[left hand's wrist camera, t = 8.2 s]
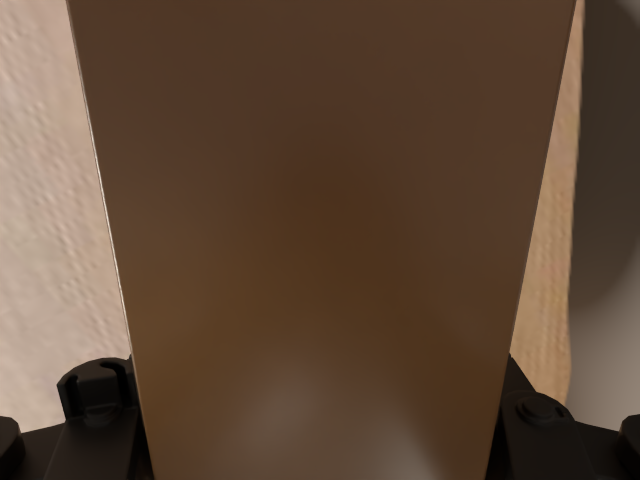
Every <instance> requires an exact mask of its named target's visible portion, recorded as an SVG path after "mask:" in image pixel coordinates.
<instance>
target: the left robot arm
mask: <svg viewBox="0 0 640 480" xmlns="http://www.w3.org/2000/svg"><path fill="white" fill-rule="evenodd" d="M57 388H58V392H59V396H60V400H61V403H62V407H63V411H64V414H65V418H66V421H65V423H62V424H58V425H55V426H51V427H47V428H42V429H38V430H34V431H29V432H25V433H21V431H20V428H19V425H18V423H17V422H16V421H15V420H14V419H12V418H10V417H3V416H0V480H154V475H153V469H152V464H151V459H150V453H149V448H148V442H147V437H146V432H145V426H144V421H143V415H142V410H141V405H140V399H139V394H138V388H137V383H136V377H135V372H134V367H133V361H132V356H131V354H130V356H129V359H127V360H124V359H120V358H116V357H113V358H100V359H96V360H92V361H88V362H86V363H84V364H81V365H79V366H77V367H75V368H73V369H72V370H70V371H69V372H68V373H66V374H65V375H64V376H63V377H62V378H61V379H60V381H59V382H58V383H57ZM485 480H640V414H638V415H631V416H628V417H627V418H626V419H624V420H623V421H622V424H621V427H620V430H619V431H614V430H610V429H605V428H601V427H596V426H592V425H588V424H584V423H581V422H577V421H575V420H574V418H573V417H572V415H571V414H570V412H569V411H568V409H567V408H565V407H564V406H563V405H562V404H561V403H559V402H558V401H557V400H555V399H553V398H551V397H549V396H547V395H545V394H542V393H538V392H536V391H535V389H534V388H533V386H532V385H531V384H530V382H529V381H528V379H527V378H526V376H525V375H524V373H523V372H522V370H521V369H520V367H519V366H518V365H517V363H516V362H515V360H514V359H513V358H511V354H510V353H509V356H508V362H507V367H506V372H505V377H504V383H503V388H502V393H501V398H500V404H499V409H498V414H497V419H496V425H495V430H494V435H493V440H492V445H491V451H490V456H489V461H488V466H487V472H486V477H485Z"/></svg>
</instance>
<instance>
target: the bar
mask: <svg viewBox="0 0 640 480" xmlns="http://www.w3.org/2000/svg"><path fill="white" fill-rule="evenodd" d="M66 4H67V9H68V15H69V20H70V26H71V31H72V36H73V42H74V47H75V53H76V58H77V64H78V69H79V74H80V80H81V85H82V91H83V96H84V101H85V107H86V112H87V118H88V123H89V128H90V134H91V139H92V145H93V150H94V156H95V161H96V166H97V172H98V177H99V183H100V188H101V193H102V199H103V204H104V210H105V215H106V221H107V226H108V231H109V237H110V242H111V248H112V253H113V258H114V264H115V269H116V275H117V280H118V285H119V291H120V296H121V302H122V307H123V313H124V318H125V323H126V329H127V334H128V340H129V345H130V350H131V356H132V361H133V367H134V372H135V377H136V383H137V388H138V394H139V399H140V405H141V410H142V415H143V421H144V426H145V432H146V437H147V442H148V448H149V453H150V459H151V464H152V469H153V475H154V480H485V477H486V472H487V466H488V461H489V456H490V451H491V445H492V440H493V435H494V430H495V425H496V419H497V414H498V409H499V404H500V398H501V393H502V388H503V383H504V377H505V372H506V367H507V362H508V356H509V351H510V346H511V341H512V335H513V330H514V325H515V320H516V315H517V309H518V304H519V299H520V294H521V288H522V283H523V278H524V273H525V267H526V262H527V257H528V252H529V246H530V241H531V236H532V231H533V225H534V220H535V215H536V210H537V205H538V199H539V194H540V189H541V184H542V178H543V173H544V168H545V163H546V157H547V152H548V147H549V142H550V136H551V131H552V126H553V121H554V115H555V110H556V105H557V100H558V95H559V89H560V84H561V79H562V74H563V68H564V63H565V58H566V53H567V47H568V42H569V37H570V32H571V26H572V21H573V16H574V11H575V5H576V0H66Z"/></svg>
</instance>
